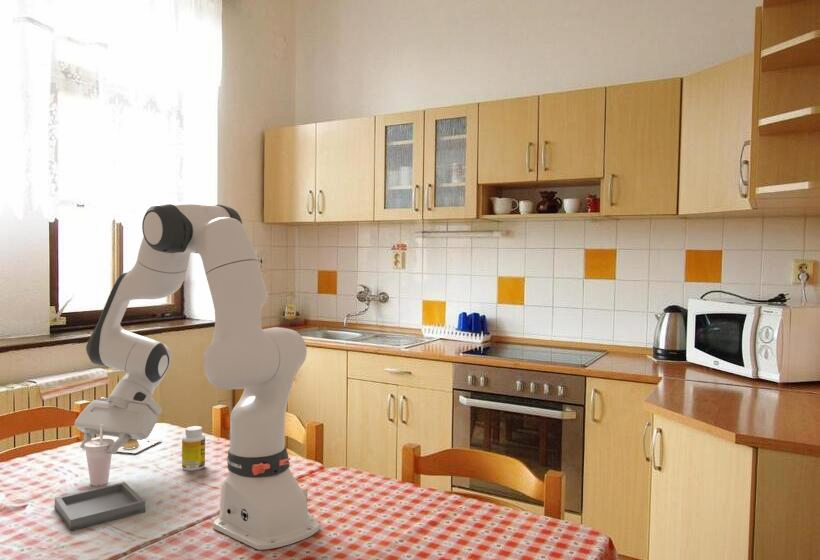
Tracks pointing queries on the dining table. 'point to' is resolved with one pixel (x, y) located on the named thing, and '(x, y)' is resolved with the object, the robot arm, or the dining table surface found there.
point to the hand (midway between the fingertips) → (97, 450)
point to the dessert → (136, 444)
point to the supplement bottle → (193, 449)
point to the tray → (98, 505)
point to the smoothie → (98, 459)
